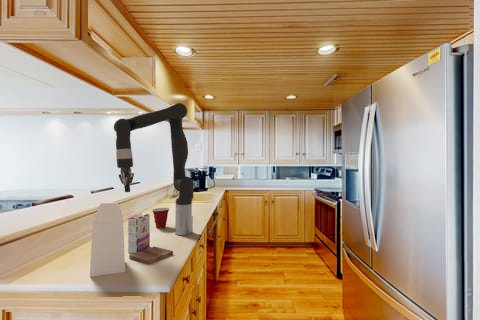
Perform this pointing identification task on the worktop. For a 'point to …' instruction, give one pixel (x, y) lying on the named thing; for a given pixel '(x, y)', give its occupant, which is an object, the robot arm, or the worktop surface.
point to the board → (150, 255)
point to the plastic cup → (160, 217)
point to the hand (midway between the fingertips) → (127, 192)
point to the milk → (107, 241)
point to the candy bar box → (138, 233)
